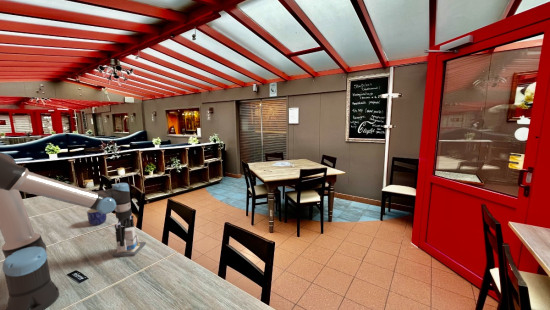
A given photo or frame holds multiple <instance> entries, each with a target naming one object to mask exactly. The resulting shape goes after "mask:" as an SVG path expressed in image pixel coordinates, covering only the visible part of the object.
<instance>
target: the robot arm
mask: <svg viewBox="0 0 550 310" xmlns="http://www.w3.org/2000/svg"><path fill="white" fill-rule="evenodd" d="M111 187H112V188H108V189H104V190H97V191H91V190H88V189H85V188H81V187H79V186H75V185H73V184H69V183H66V182H63V181H59V180H56V179H53V178H49V177H46V176H43V175H40V174H37V173H34V172H31V171H29V169H28V168H27V167H25V166H21V165H20V164H19V165H18V164H17V163H16V159H14V158H13V156H11V155H10V154H8V153H5V152H2V151H0V233H1V236H2V238H3V241H4V244H2V246H1V248H0V249H1V251H2V253H3V255H4V259H3V262H2V272H3V273H4V278H5V282H6V288H7V292H8V296H9V297H8V300H7V305H6V306H7V307H6V308H5V310H46V309H47V308H49V307H50V306H52V305H53V304H54V303H55V302H56V301H57V300H58V299H59V297H60V291H59V287H58V286H56V284H55V283H54V282H53V281H52V279H51V273H50V268H49V262H48V261H49V260H48V253H47V246H46V243H45V242H44V240H43V238H42V235H41V233H39V232H35V231H34V227H33V225H32V222H31V220H30V217H29V214H28V212H27V209H26V206H25V203H24V201H23V200H24V199H23V198H22V195H21V193H20V192H23V193H28V194H32V195H36V196H40V197H43V198H48V199H51V200H54V201H60V202H63V203H67V204H71V205H76V206H77V207H78V206H79V207H83V208H85V209H86V208H88V209H89V210H90V209H93V210H97V211H98V212H100V213H102V214H106V215H108V214H110V213H112V212H113V211H115V218H116V219H117V224H114V228H115V232H116V233H115V240H116V243H117V242H119V241H120V247H121V251H126V250H127V249H126V240H124V238H125V228H130V227H135V222H134V215H132V214H133V213H132V208H131V207H132V206H131V204H132V203H131V196H130V195H131V194H130V185H129V184H128V183H127V182H119V183H114V184H113V185H112V186H111Z"/></svg>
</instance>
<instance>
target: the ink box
mask: <svg viewBox="0 0 550 310" xmlns="http://www.w3.org/2000/svg"><path fill="white" fill-rule="evenodd" d="M115 234H116V231H115ZM136 235H137V234H136V228H135V226H134V227H130V228H125V238H124V240H126V249H127V250H130V249H134V248H135V247H136V245H137V243H136ZM116 248H117V250H118V251H121V247H120V241H119V242H117V241H116ZM117 250H116V251H117Z"/></svg>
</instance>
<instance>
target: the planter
mask: <svg viewBox="0 0 550 310" xmlns="http://www.w3.org/2000/svg"><path fill="white" fill-rule="evenodd" d="M86 213H87V219H88V220H87V221H88V223H89V224H90V225H91V226H99V225H103V224H104V223H105V222H106V221H107V216H108V214H102V213H100V212H98V211H97V210H93V209H90V208H89V209H88V210H87V211H86Z"/></svg>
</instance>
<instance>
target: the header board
mask: <svg viewBox="0 0 550 310" xmlns="http://www.w3.org/2000/svg"><path fill="white" fill-rule="evenodd" d="M136 243H137V245H136V247H135V248H134V249H130V250H126V251H118V250H115V252H113V253H112V257H114V258H117V257H135V256H136V255H137V254H139V252H140V251H141V250H142V249H143V248H144V247H145V245H146V244H147V243H146V241H139V235H138V234H136Z"/></svg>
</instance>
